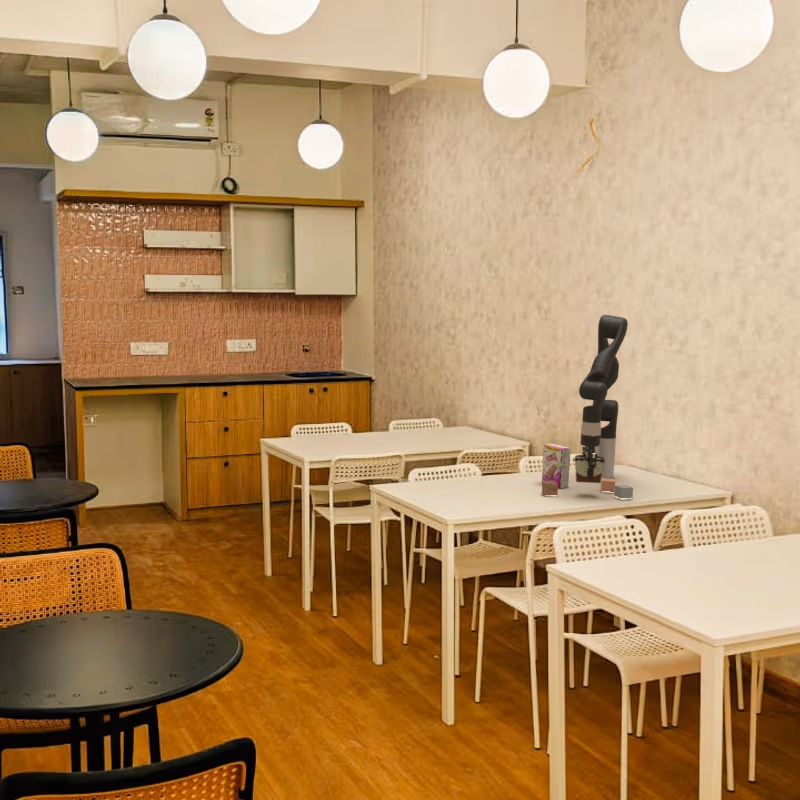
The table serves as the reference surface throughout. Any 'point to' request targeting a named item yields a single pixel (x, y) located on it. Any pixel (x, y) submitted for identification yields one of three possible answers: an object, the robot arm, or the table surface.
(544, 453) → the candy bar box
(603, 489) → the terracotta block
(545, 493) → the walnut block
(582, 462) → the food container
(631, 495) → the slate grey block
